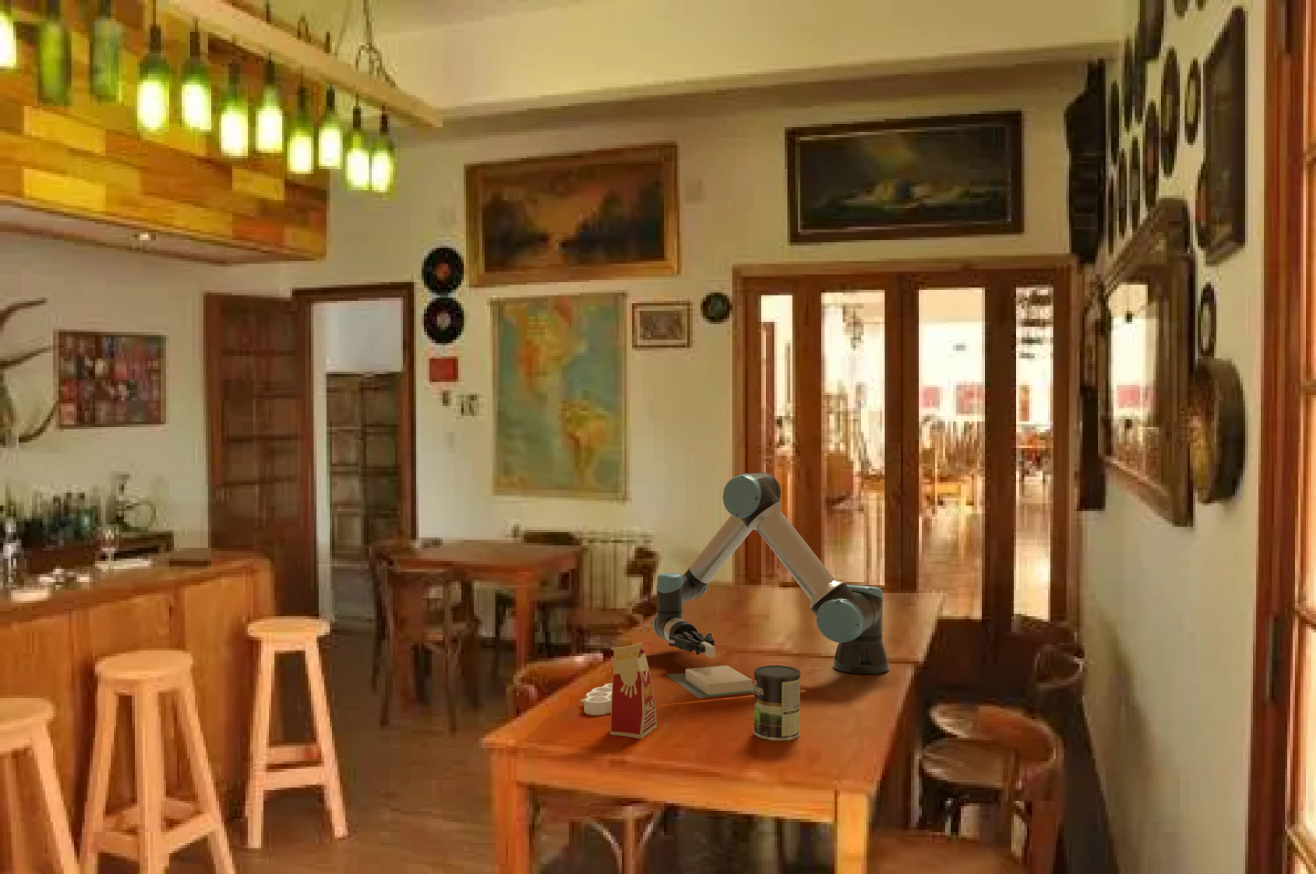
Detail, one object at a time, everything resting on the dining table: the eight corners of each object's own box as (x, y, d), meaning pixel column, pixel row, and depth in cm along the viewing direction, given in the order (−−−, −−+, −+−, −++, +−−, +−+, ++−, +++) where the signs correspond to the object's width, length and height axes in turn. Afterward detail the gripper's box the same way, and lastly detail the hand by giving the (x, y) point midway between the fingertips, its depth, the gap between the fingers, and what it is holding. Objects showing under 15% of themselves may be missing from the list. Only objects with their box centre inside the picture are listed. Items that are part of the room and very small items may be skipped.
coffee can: (758, 742, 221) (758, 677, 221) (750, 727, 231) (750, 665, 231) (805, 740, 222) (805, 676, 222) (794, 726, 232) (795, 664, 232)
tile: (685, 669, 270) (708, 684, 255) (727, 665, 274) (752, 680, 259) (685, 680, 270) (708, 696, 255) (727, 676, 274) (752, 691, 259)
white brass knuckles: (628, 719, 239) (570, 714, 243) (651, 699, 256) (597, 694, 260) (628, 705, 238) (570, 700, 243) (651, 685, 256) (596, 681, 260)
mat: (665, 676, 276) (665, 674, 276) (727, 671, 282) (727, 669, 282) (698, 700, 253) (698, 698, 253) (764, 693, 259) (764, 691, 259)
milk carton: (657, 726, 232) (656, 639, 231) (643, 739, 223) (643, 647, 223) (619, 722, 235) (619, 636, 234) (604, 734, 226) (604, 644, 226)
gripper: (702, 645, 292) (735, 664, 270) (659, 649, 288) (689, 668, 266) (702, 619, 292) (735, 636, 270) (659, 622, 288) (689, 639, 266)
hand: (712, 652), depth 268 cm, fingers closed
